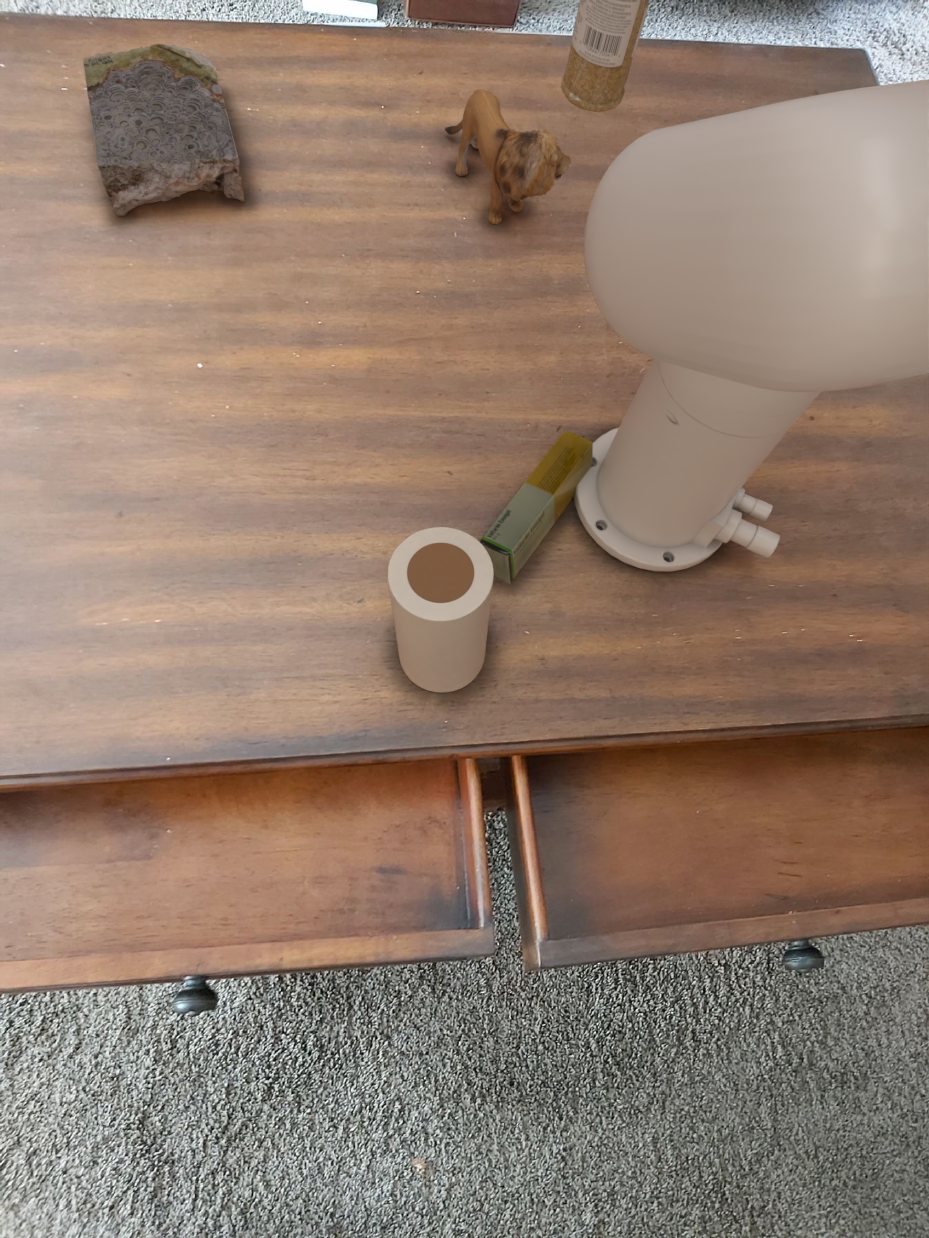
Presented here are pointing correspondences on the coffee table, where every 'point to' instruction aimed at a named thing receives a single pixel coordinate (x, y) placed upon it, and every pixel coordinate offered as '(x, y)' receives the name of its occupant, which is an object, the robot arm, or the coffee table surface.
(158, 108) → the geological specimen
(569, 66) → the sprinkles bottle
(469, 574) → the paper towel roll
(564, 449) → the medication box
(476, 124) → the lion figurine
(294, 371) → the coffee table surface
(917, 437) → the coffee table surface
